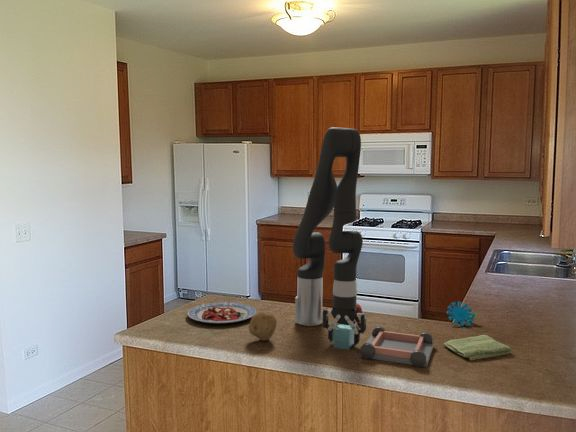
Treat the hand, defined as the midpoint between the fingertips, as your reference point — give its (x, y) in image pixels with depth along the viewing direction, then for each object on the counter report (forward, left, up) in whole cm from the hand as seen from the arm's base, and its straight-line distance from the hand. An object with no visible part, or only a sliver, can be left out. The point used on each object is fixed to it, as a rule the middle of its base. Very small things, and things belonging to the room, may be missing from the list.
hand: (343, 342), depth 167 cm
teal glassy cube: (0, 0, -1) cm, 1 cm away
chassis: (+17, +1, -1) cm, 17 cm away
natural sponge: (-26, -6, -1) cm, 27 cm away
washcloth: (+40, +12, -2) cm, 42 cm away
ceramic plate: (-51, +12, -1) cm, 52 cm away
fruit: (-4, +23, -1) cm, 23 cm away
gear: (+34, +38, -1) cm, 51 cm away
